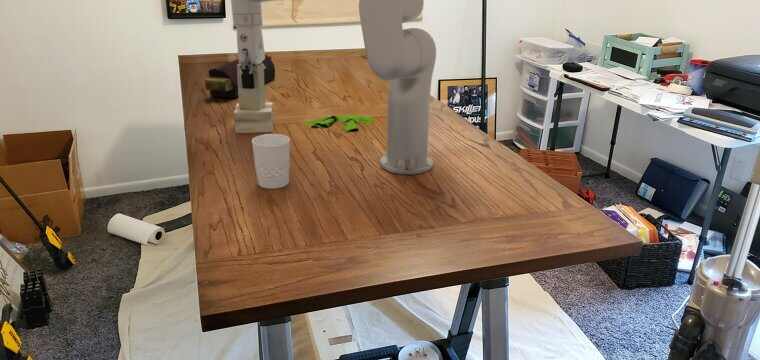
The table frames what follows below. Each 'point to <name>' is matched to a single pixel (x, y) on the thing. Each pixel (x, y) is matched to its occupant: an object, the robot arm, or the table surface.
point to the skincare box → (252, 96)
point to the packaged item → (233, 78)
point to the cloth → (348, 126)
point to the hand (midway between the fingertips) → (253, 84)
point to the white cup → (272, 160)
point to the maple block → (254, 119)
